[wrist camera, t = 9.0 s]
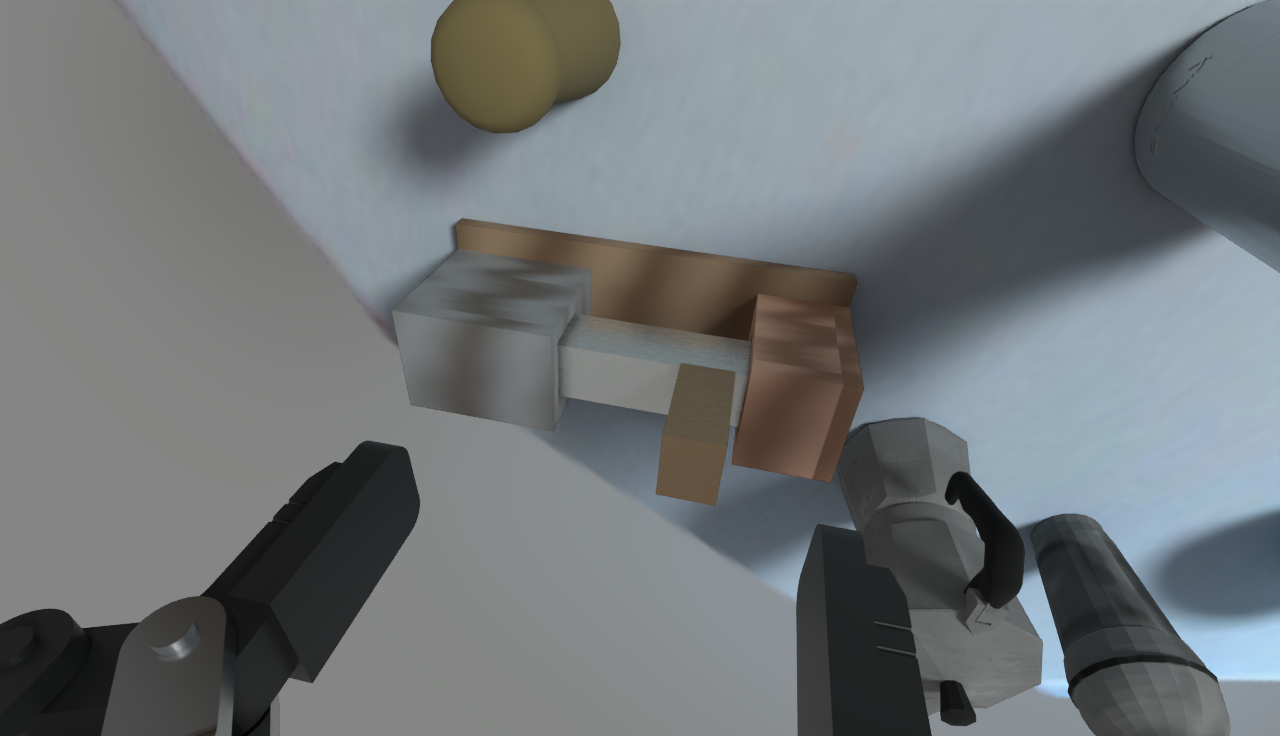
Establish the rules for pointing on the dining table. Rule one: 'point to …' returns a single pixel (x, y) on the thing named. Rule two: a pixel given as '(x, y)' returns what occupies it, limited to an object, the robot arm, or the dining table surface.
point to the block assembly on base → (638, 293)
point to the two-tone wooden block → (663, 391)
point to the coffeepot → (944, 563)
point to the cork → (521, 57)
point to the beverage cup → (1120, 640)
